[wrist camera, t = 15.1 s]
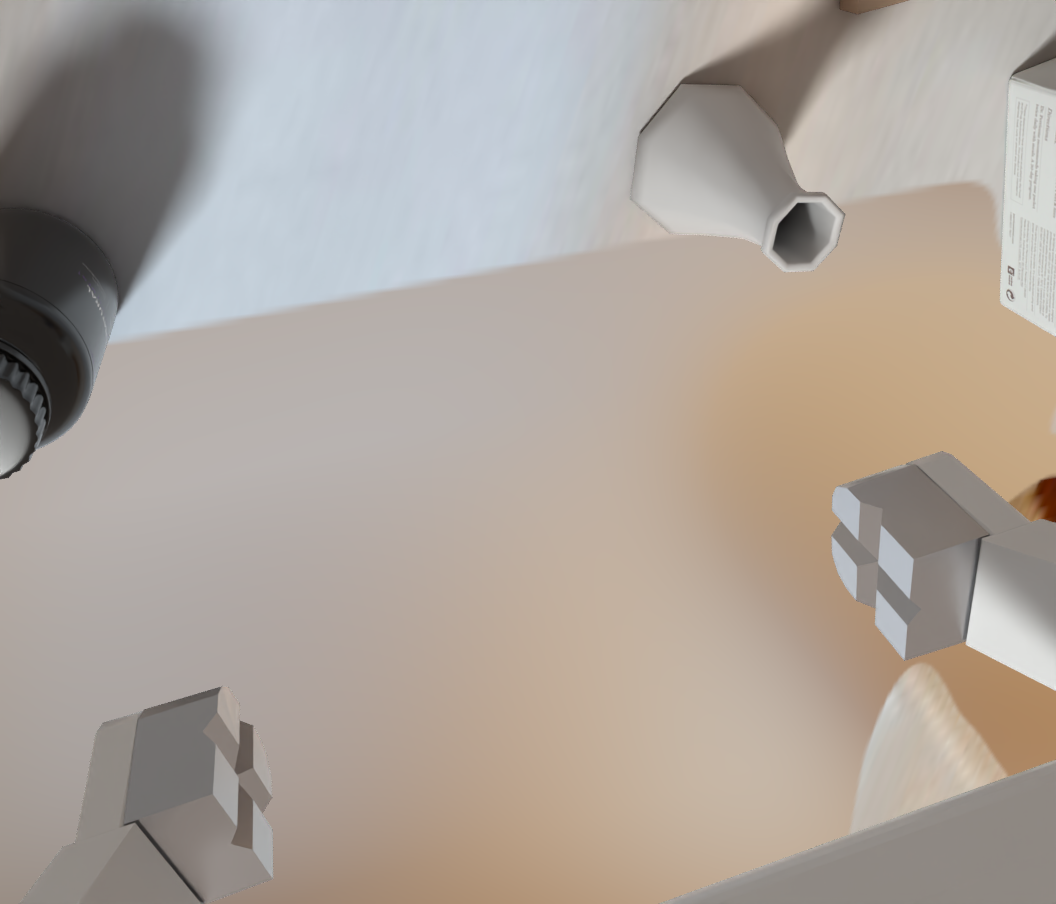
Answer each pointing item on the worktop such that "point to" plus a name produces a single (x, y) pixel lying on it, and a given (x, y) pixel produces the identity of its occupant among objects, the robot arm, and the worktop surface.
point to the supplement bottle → (48, 329)
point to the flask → (730, 178)
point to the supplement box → (1030, 197)
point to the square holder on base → (866, 5)
